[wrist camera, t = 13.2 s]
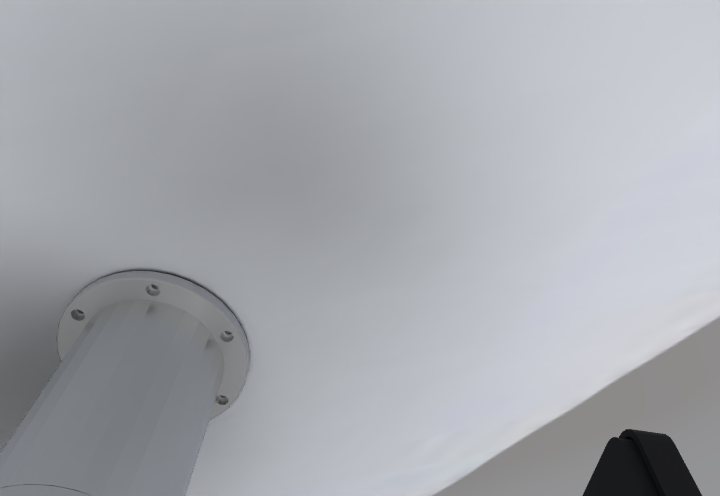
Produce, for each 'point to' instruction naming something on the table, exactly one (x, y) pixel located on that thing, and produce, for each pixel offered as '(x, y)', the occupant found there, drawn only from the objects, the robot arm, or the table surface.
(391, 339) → the table surface
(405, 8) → the table surface
